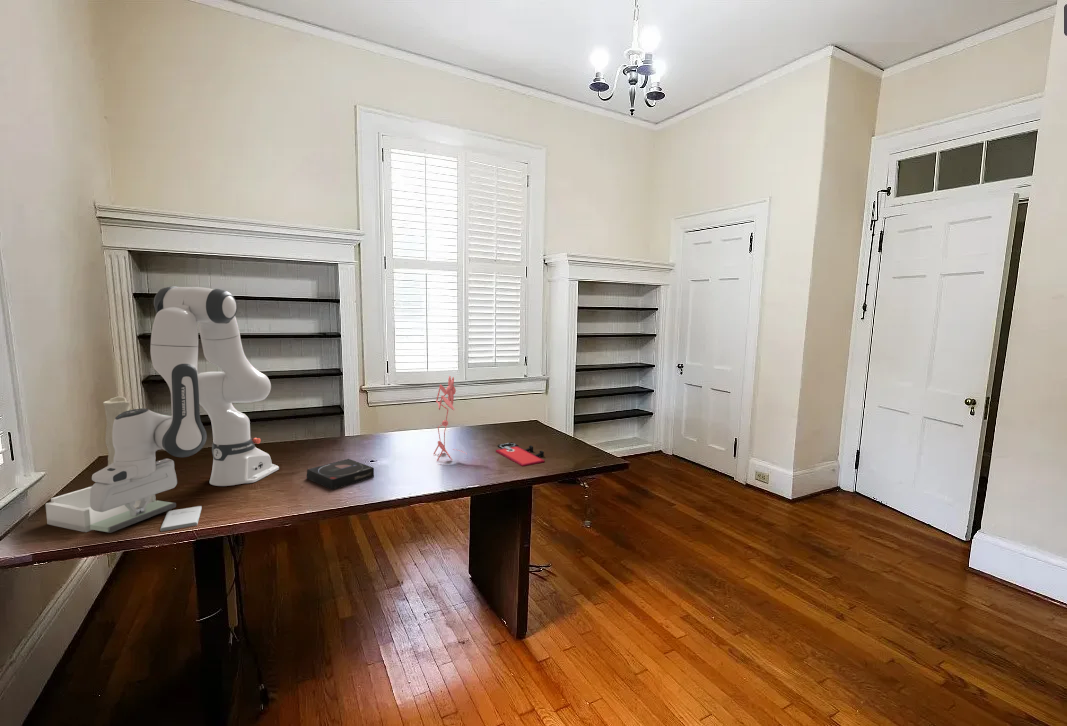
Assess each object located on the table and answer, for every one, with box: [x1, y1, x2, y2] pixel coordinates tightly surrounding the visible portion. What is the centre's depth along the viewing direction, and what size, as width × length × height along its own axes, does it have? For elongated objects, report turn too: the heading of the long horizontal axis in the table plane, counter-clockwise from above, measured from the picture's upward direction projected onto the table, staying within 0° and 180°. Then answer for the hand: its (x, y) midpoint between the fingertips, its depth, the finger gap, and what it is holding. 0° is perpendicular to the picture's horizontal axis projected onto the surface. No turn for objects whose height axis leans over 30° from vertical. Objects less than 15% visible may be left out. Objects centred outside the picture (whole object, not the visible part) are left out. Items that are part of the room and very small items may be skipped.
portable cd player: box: [306, 458, 375, 491], centre depth 168 cm, size 16×17×4 cm
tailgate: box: [90, 499, 177, 533], centre depth 130 cm, size 17×1×8 cm
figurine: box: [433, 375, 468, 466], centre depth 195 cm, size 15×26×35 cm, turn 22°
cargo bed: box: [45, 485, 157, 533], centre depth 133 cm, size 18×15×7 cm
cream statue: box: [102, 396, 133, 466], centre depth 156 cm, size 9×8×30 cm
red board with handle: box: [495, 441, 546, 467], centre depth 203 cm, size 30×3×15 cm
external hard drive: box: [160, 505, 202, 532], centre depth 132 cm, size 2×8×12 cm
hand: (138, 514), depth 130 cm, fingers closed, pressing on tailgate
